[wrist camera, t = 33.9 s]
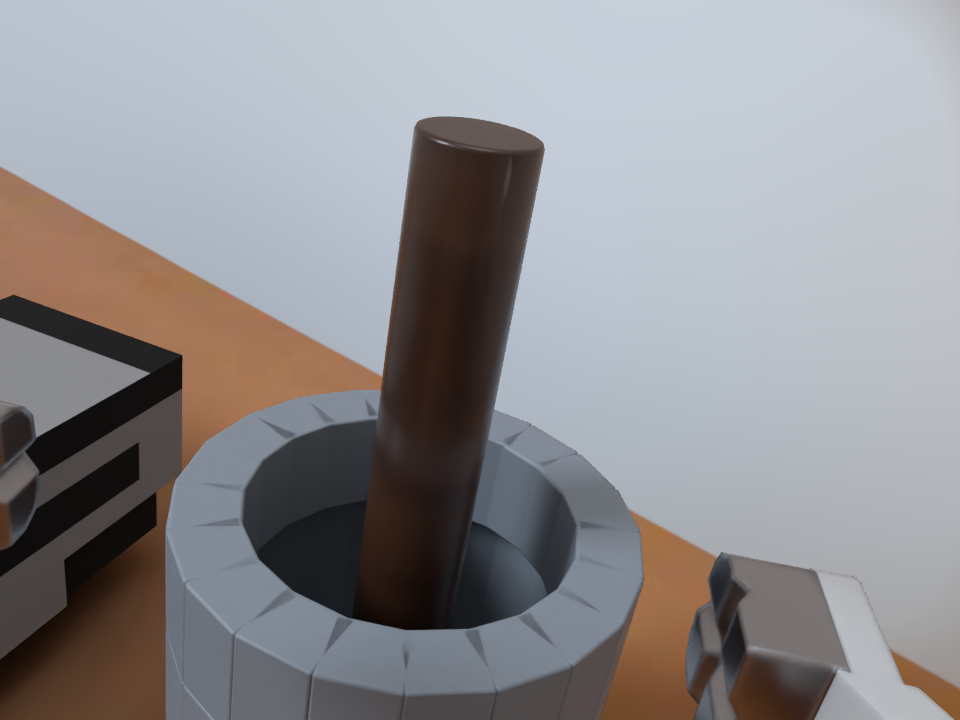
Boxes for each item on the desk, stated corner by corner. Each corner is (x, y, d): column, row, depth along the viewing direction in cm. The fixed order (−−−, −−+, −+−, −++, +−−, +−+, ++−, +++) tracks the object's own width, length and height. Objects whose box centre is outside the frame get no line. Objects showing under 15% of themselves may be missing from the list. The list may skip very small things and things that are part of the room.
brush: (438, 783, 24) (576, 130, 16) (419, 898, 21) (575, 174, 13) (324, 760, 24) (403, 98, 16) (290, 872, 21) (364, 133, 13)
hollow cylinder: (549, 731, 27) (633, 434, 22) (527, 1100, 18) (658, 749, 14) (249, 667, 27) (267, 360, 22) (92, 1000, 19) (64, 621, 14)
